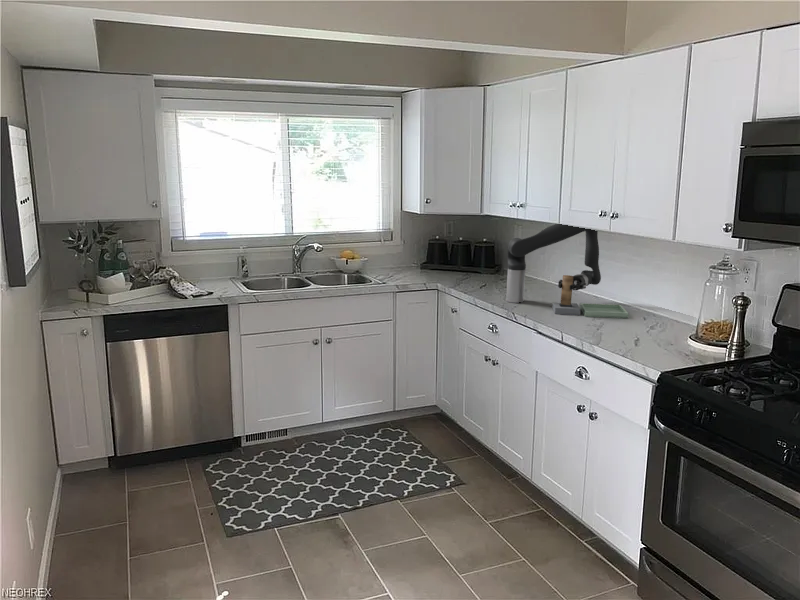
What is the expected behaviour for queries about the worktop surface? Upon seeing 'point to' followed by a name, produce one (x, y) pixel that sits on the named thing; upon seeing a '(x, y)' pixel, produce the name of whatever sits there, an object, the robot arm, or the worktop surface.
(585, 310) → the tray
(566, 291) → the dowel
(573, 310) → the socket block
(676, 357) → the worktop surface
